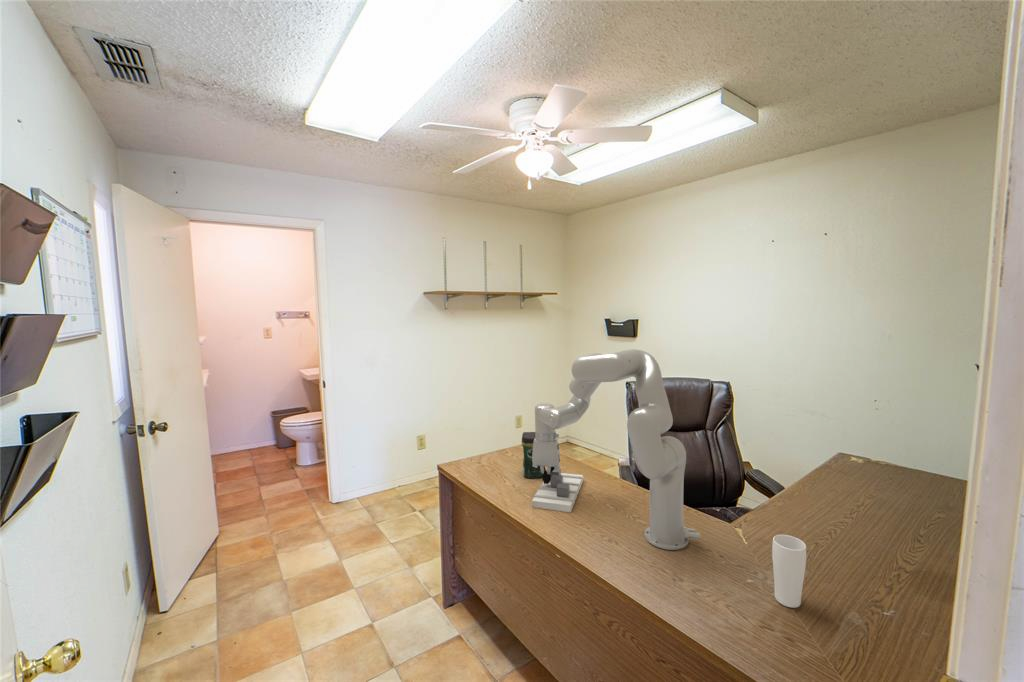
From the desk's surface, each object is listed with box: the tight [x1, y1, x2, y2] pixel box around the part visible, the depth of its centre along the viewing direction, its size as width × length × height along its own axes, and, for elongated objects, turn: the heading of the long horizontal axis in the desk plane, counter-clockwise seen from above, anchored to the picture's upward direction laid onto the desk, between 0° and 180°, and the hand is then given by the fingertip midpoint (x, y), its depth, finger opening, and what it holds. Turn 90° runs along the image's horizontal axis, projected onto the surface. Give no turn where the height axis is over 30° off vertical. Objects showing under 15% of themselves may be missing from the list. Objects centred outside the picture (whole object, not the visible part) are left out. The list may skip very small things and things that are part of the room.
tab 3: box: [557, 483, 570, 498], centre depth 154 cm, size 4×4×3 cm
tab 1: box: [551, 468, 562, 477], centre depth 168 cm, size 4×4×3 cm
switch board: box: [531, 472, 584, 513], centre depth 161 cm, size 14×26×3 cm, turn 161°
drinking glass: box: [771, 534, 807, 609], centre depth 101 cm, size 7×7×15 cm
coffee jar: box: [520, 431, 542, 479], centre depth 178 cm, size 10×8×19 cm
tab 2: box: [551, 475, 563, 488], centre depth 161 cm, size 4×4×3 cm
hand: (546, 482), depth 162 cm, fingers closed
